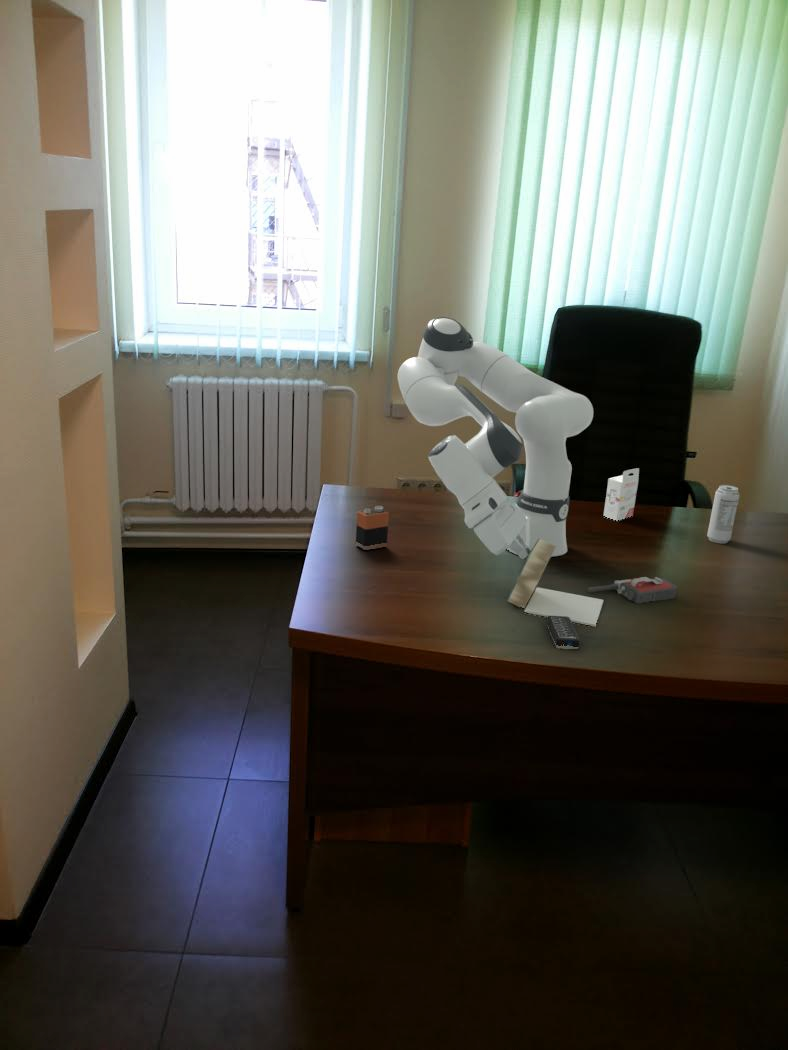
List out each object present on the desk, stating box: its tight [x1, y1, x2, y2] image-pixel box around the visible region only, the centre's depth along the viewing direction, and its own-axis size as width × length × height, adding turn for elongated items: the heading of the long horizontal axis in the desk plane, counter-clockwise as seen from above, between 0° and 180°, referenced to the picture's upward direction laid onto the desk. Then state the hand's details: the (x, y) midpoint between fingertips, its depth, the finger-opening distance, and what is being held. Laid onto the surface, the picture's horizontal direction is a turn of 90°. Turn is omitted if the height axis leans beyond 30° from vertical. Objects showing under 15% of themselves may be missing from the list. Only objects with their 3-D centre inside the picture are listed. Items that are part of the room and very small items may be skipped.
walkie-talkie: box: [587, 576, 678, 604], centre depth 184 cm, size 9×4×20 cm
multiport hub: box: [546, 616, 581, 648], centre depth 161 cm, size 4×11×2 cm, turn 0°
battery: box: [355, 505, 390, 546], centre depth 201 cm, size 4×7×10 cm, turn 126°
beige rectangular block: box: [506, 539, 556, 609], centre depth 175 cm, size 4×10×12 cm, turn 161°
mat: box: [523, 586, 604, 628], centre depth 175 cm, size 14×14×1 cm
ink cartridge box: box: [603, 467, 640, 522], centre depth 238 cm, size 9×5×15 cm, turn 132°
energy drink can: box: [706, 484, 740, 544], centre depth 223 cm, size 6×6×15 cm
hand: (526, 555), depth 174 cm, fingers closed
